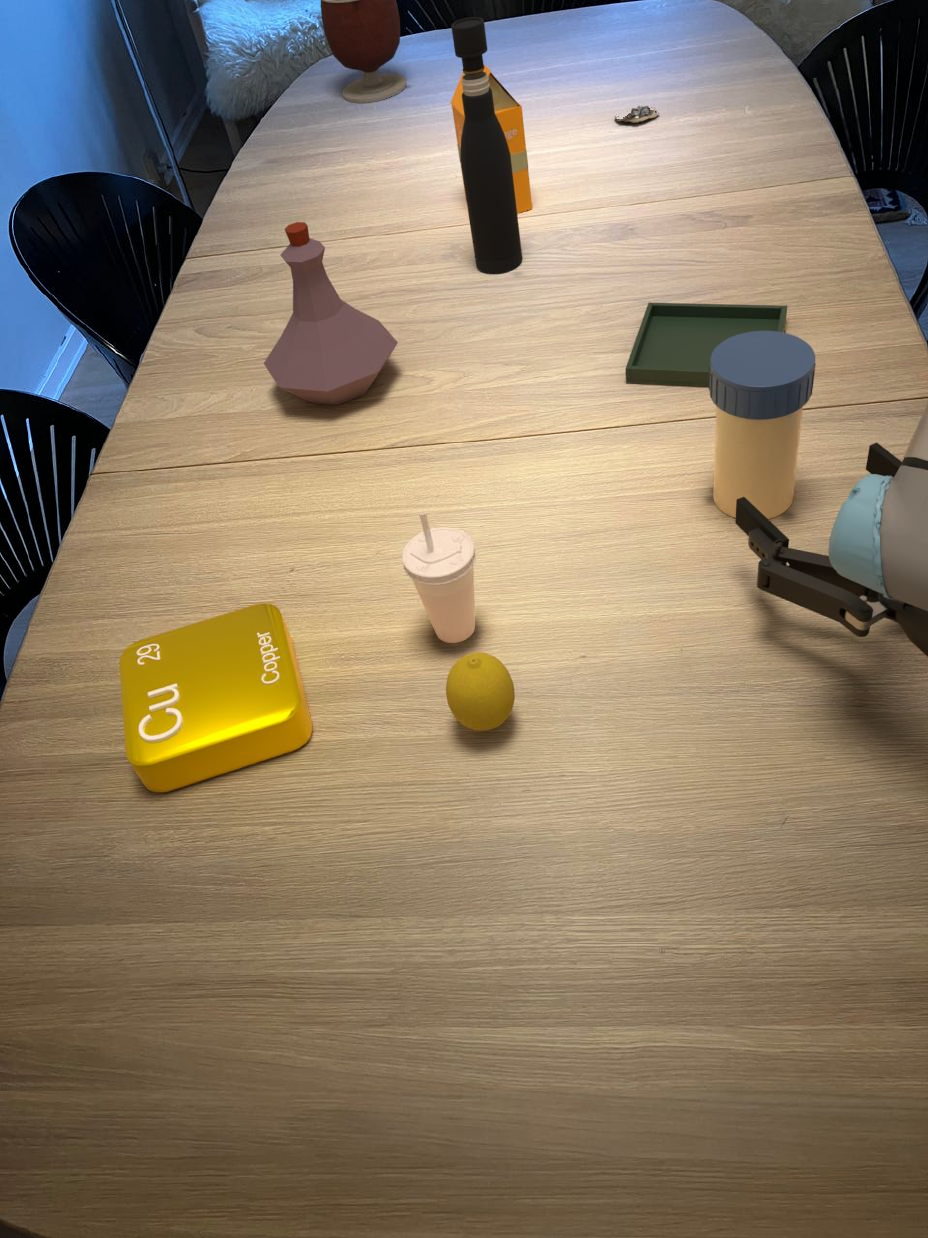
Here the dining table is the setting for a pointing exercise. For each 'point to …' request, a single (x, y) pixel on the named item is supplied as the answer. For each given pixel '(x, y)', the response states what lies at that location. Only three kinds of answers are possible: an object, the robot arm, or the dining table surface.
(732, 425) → the jar
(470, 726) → the lemon
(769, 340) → the lid
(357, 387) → the flask
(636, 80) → the dining table surface
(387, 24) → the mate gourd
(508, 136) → the orange juice
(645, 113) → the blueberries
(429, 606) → the smoothie
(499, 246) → the black water bottle
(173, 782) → the element tile
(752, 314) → the tray
